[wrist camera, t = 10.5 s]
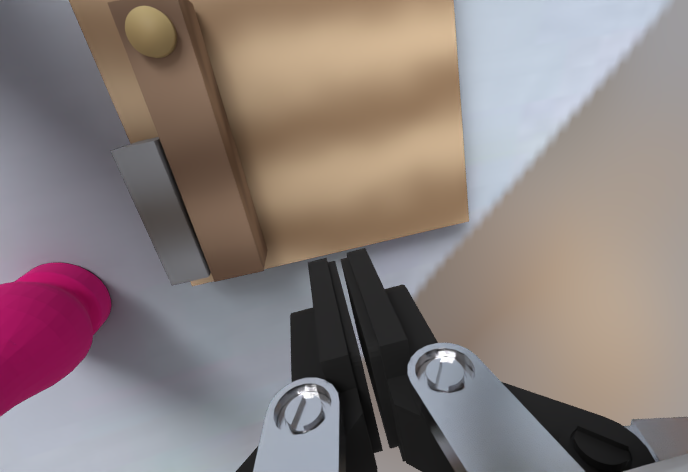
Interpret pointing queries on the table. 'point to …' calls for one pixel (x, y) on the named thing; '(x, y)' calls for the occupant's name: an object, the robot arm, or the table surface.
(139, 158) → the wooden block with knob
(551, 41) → the table surface
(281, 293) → the table surface
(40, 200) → the table surface
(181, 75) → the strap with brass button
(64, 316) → the pepper mill
